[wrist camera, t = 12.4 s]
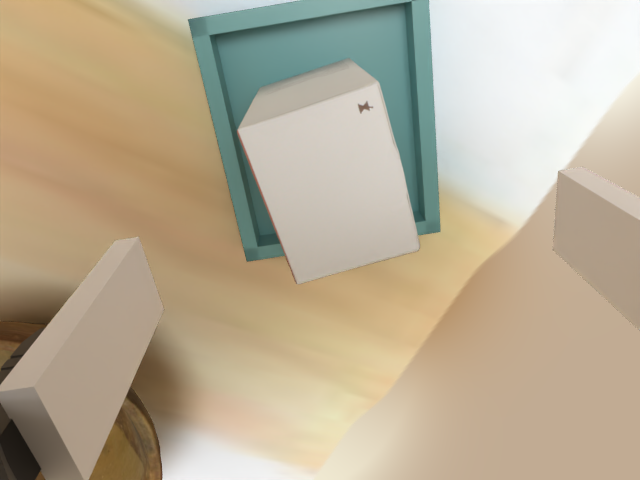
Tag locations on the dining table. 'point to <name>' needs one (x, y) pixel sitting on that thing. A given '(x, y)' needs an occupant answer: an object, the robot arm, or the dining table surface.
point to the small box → (329, 170)
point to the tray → (308, 54)
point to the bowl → (127, 431)
